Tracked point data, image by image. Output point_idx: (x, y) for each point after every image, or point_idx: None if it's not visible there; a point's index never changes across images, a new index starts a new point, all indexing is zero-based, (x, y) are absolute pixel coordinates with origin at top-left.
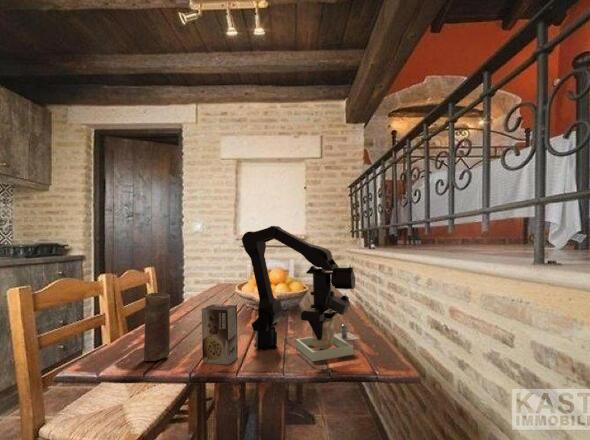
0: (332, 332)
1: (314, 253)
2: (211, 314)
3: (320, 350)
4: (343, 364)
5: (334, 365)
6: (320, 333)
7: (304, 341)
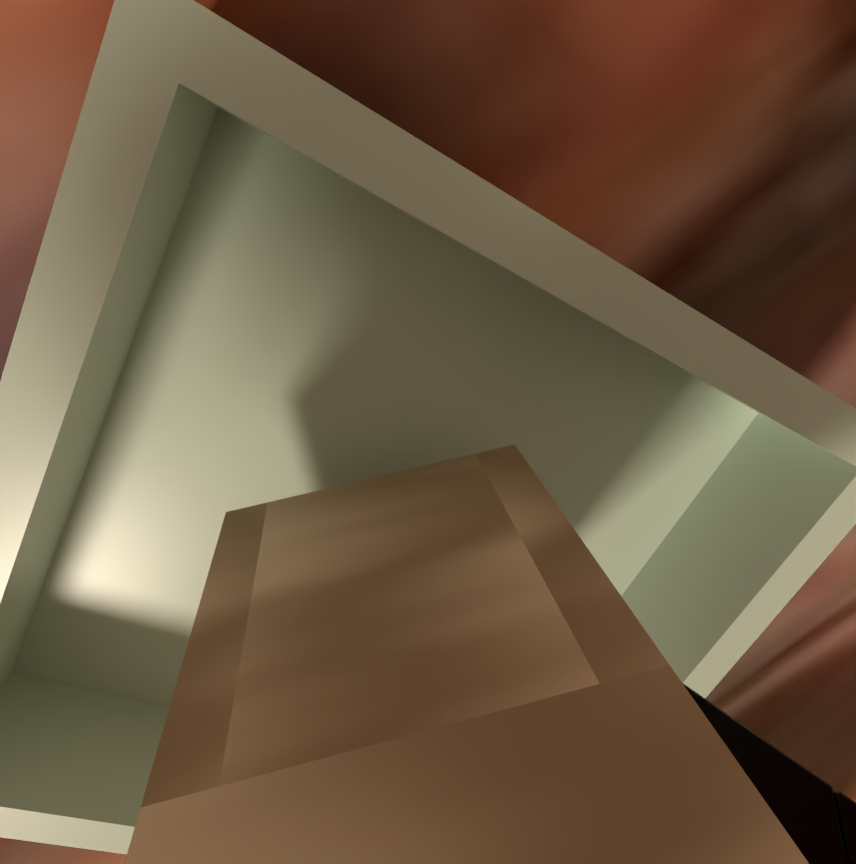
0: (255, 691)
1: None
2: None
3: (791, 412)
4: (574, 19)
5: (677, 128)
6: (746, 735)
7: None
